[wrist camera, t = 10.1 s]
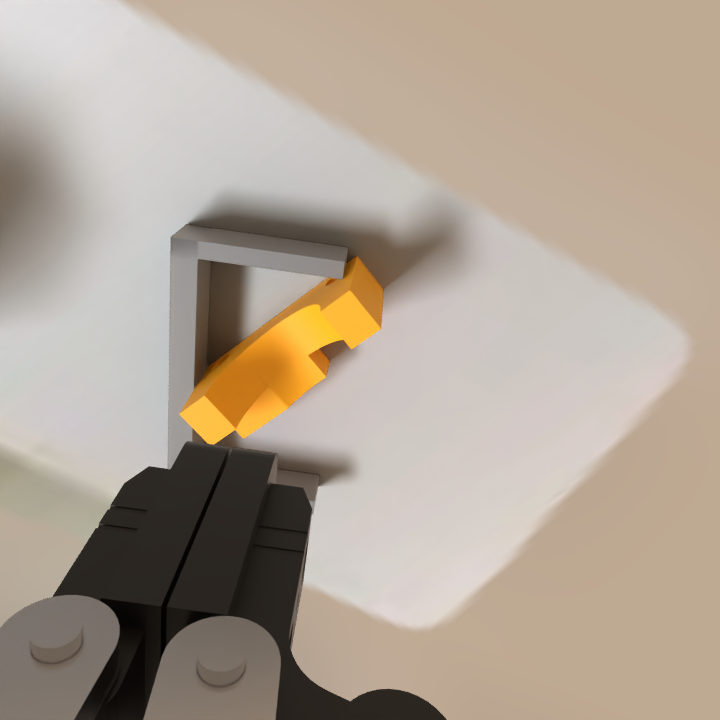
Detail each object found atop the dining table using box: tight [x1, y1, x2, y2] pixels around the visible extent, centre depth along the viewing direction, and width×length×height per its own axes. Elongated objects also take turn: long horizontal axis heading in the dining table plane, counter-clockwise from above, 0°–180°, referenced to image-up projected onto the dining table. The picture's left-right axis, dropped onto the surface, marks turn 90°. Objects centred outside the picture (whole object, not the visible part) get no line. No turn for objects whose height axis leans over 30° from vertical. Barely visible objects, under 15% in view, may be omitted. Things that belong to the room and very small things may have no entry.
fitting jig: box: [168, 224, 348, 514], centre depth 41 cm, size 10×17×3 cm, turn 172°
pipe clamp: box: [179, 256, 384, 445], centre depth 39 cm, size 12×4×6 cm, turn 128°
